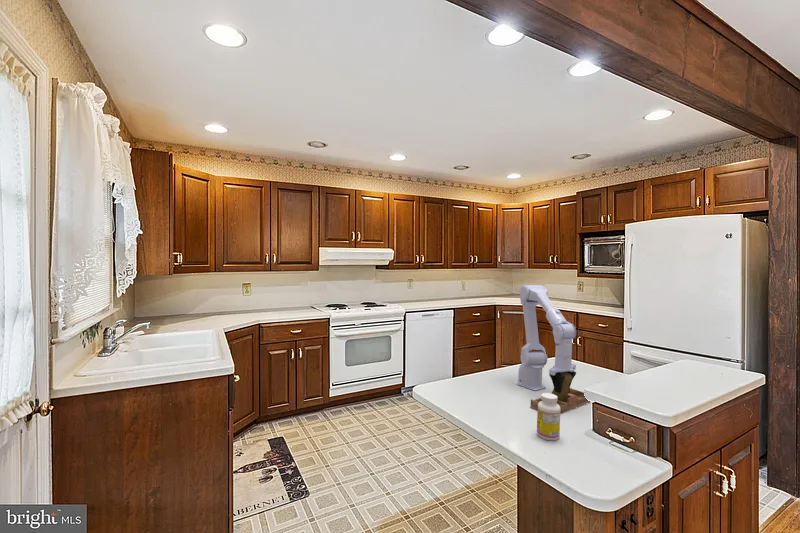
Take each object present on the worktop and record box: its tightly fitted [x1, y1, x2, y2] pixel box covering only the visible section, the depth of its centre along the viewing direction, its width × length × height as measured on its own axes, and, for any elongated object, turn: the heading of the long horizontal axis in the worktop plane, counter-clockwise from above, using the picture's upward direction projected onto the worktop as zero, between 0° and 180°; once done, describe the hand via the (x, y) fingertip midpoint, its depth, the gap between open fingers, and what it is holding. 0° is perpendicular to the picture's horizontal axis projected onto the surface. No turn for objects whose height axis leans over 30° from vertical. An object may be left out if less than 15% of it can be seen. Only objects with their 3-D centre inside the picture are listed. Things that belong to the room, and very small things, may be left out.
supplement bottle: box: [536, 392, 561, 441], centre depth 115 cm, size 7×7×13 cm
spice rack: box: [530, 387, 591, 415], centre depth 139 cm, size 9×25×4 cm, turn 124°
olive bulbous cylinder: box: [550, 372, 573, 403], centre depth 139 cm, size 6×6×11 cm
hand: (561, 390), depth 139 cm, fingers closed on olive bulbous cylinder, 5 cm apart
